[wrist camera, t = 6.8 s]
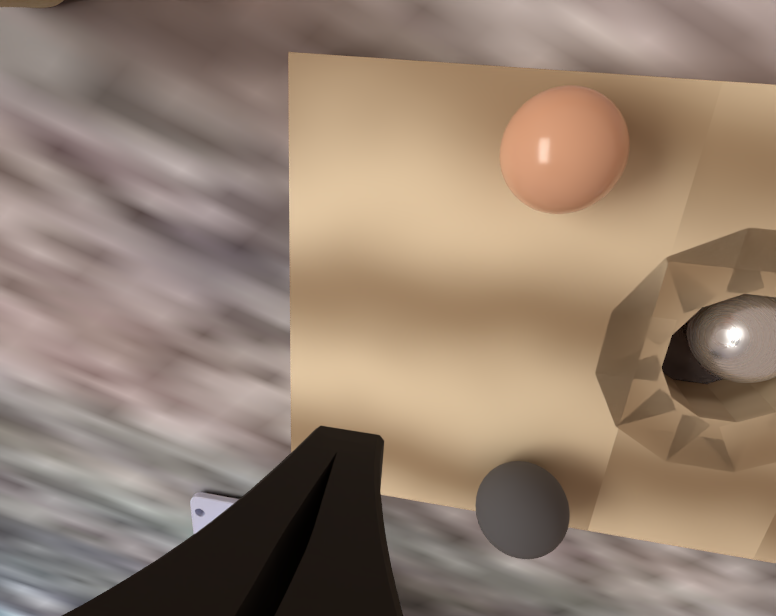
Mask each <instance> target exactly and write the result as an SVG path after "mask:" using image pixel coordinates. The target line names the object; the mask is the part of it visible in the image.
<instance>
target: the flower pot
mask: <svg viewBox="0 0 776 616" xmlns="http://www.w3.org/2000/svg"><path fill="white" fill-rule="evenodd" d="M62 1H64V0H0V7H30V8H47V7H53V6H56V5H58V4H59V3H61V2H62Z"/></svg>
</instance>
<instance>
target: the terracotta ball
mask: <svg viewBox="0 0 776 616" xmlns="http://www.w3.org/2000/svg"><path fill="white" fill-rule="evenodd" d="M629 149H630V139H629V132H628V127H627V124H626V122H625V119H624V117H623V115H622V113H621V112H620V110H619V109H618V107H617V106H616V105H615V104H614V103H613V102H612V101H611V100H610V99H609V98H608V97H606V96H605V95H603V94H602V93H600V92H598V91H596V90H593V89H590V88H587V87H583V86H576V85H565V86H558V87H554V88H550V89H548V90H545V91H543V92H540V93H539V94H537V95H535V96H533V97H532V98H530V99H529V100H528V101H526V102H525V103H524V104H523V105H522V106H521V107H520V108H519V109H518V110H517V111H516V113H515V114H514V115H513V116H512V118H511V119H510V121H509V123H508V125H507V127H506V129H505V131H504V134H503V137H502V140H501V145H500V153H499V158H500V167H501V172H502V175H503V178H504V180H505V182H506V185H507V186H508V188H509V189H510V191H511V192H512V193H513V194H514V195H515V197H516V198H517V199H519V200H520V201H521V202H522V203H523V204H525V205H527V206H528V207H530V208H532V209H534V210H537V211H540V212H543V213H549V214H568V213H573V212H577V211H580V210H583V209H586V208H588V207H590V206H592V205H593V204H595V203H597V202H598V201H600V200H601V199H602V198H603V197H605V196H606V195H607V194H608V193H609V192H610V191H611V190H612V189H613V187H614V186H615V185H616V184H617V182H618V181H619V179H620V177H621V176H622V174H623V171H624V169H625V167H626V164H627V160H628V156H629Z"/></svg>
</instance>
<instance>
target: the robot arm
mask: <svg viewBox="0 0 776 616" xmlns="http://www.w3.org/2000/svg"><path fill="white" fill-rule="evenodd" d="M383 453H384V440H383V438H382V437H381V436H380V435H377V434H371V433H364V432H358V431H352V430H346V429H339V428H333V427H327V426H319V427H318V428H316V429H315V430H314V431H313V432H312V433H311V434H310V435H309V436H308V437H307V438H306V439H305V440H304V441H303V442H302V443H301V444H300V445H299V446H298V447H297V448H296V449H295V450H294V451H293V452H292V453H291V454H289V455H288V456H287V457H286V458H285V459H284V460H283V461H282V462H281V463H280V464H279V465H278V466H277V467H276V468H274V469H273V470H272V471H271V472H270V473H269V474H268V475H267V476H265V477H264V478H263V479H262V480H261V481H260V482H259V483H258V484H256V485H255V486H254V487H253V488H252V489H251V490H250V491H248V492H247V493H246V494H245V495H244V496H243V497H241V498H240V499H236V498H230V497H225V496H219V495H214V494H208V493H203V492H198V493H195V495H194V496H193V497H192V499H191V501H190V505H191V514H192V523H193V532H194V535H192V536H191V537H190V538H188V539H187V540H185V541H184V542H183V543H181V544H180V545H178V546H177V547H175V548H174V549H172V550H171V551H169V552H168V553H166V554H165V555H164V556H162V557H161V558H159V559H158V560H156V561H155V562H153V563H151V564H150V565H148V566H147V567H145V568H143V569H142V570H140V571H139V572H137V573H135V574H134V575H132V576H131V577H129V578H127V579H126V580H124V581H122V582H121V583H119V584H117V585H116V586H114V587H112V588H111V589H109V590H107V591H105V592H104V593H102V594H100V595H99V596H97V597H95V598H94V599H92V600H90V601H88V602H87V603H85V604H83V605H81V606H79V607H77V608H76V609H74V610H72V611H70V612H68V613H66V614H64V615H62V616H403V614H402V610H401V606H400V602H399V598H398V594H397V590H396V586H395V581H394V577H393V572H392V568H391V563H390V558H389V552H388V547H387V541H386V535H385V528H384V522H383V512H382V503H381V492H380V489H381V477H382V465H383ZM201 509H202V510H201Z"/></svg>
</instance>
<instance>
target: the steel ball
mask: <svg viewBox="0 0 776 616" xmlns="http://www.w3.org/2000/svg"><path fill="white" fill-rule="evenodd" d="M687 341H688V345H689V348H690V350H691V352H692V354H693V356H694V357H695V359H696V360H697V361H698V362H699V363H700V364H701V365H702V366H703V367H704V368H705V369H707V370H708V371H709V372H711V373H712V374H714V375H716V376H718V377H720V378H723V379H726V380H729V381H734V382H740V383H755V382H762V381H766V380H770V379H772V378H775V377H776V297H769V296H760V295H751V294H742V295H739V296H736V297H733V298H730V299H727V300H724V301H721V302H718V303H715V304H712V305H709V306H705V307H702V308H701V309H700V310H699V311H698V312H697V313H696V314H695V315H693V316H692V317H691V318H690V319H689V321H688V325H687Z"/></svg>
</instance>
